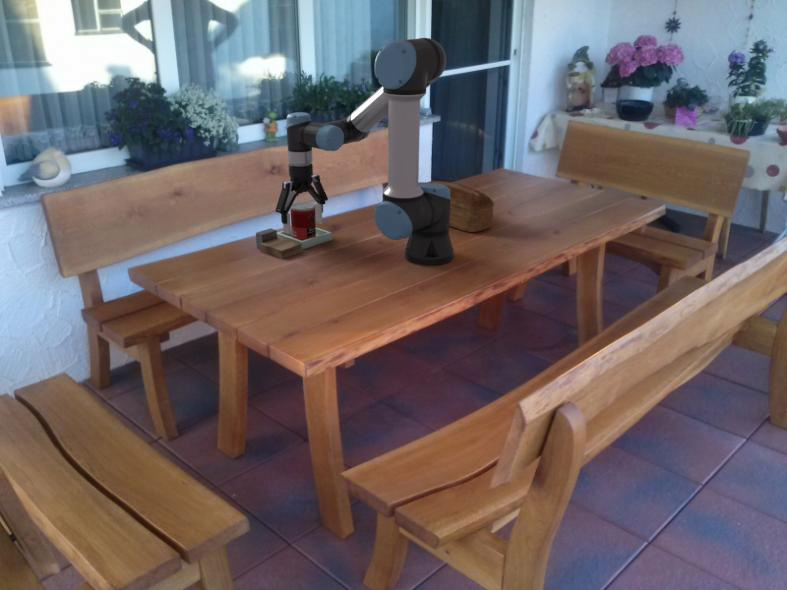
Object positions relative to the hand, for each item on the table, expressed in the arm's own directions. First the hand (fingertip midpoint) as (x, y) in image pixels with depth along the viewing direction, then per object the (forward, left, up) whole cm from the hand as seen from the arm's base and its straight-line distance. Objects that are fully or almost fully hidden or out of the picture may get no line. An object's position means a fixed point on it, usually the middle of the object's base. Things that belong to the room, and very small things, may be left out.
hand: (303, 227), depth 244 cm
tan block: (-3, +12, -5) cm, 13 cm away
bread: (-24, -48, -5) cm, 54 cm away
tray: (0, 0, -4) cm, 4 cm away
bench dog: (+4, +12, -4) cm, 13 cm away
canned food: (0, 0, -4) cm, 4 cm away
